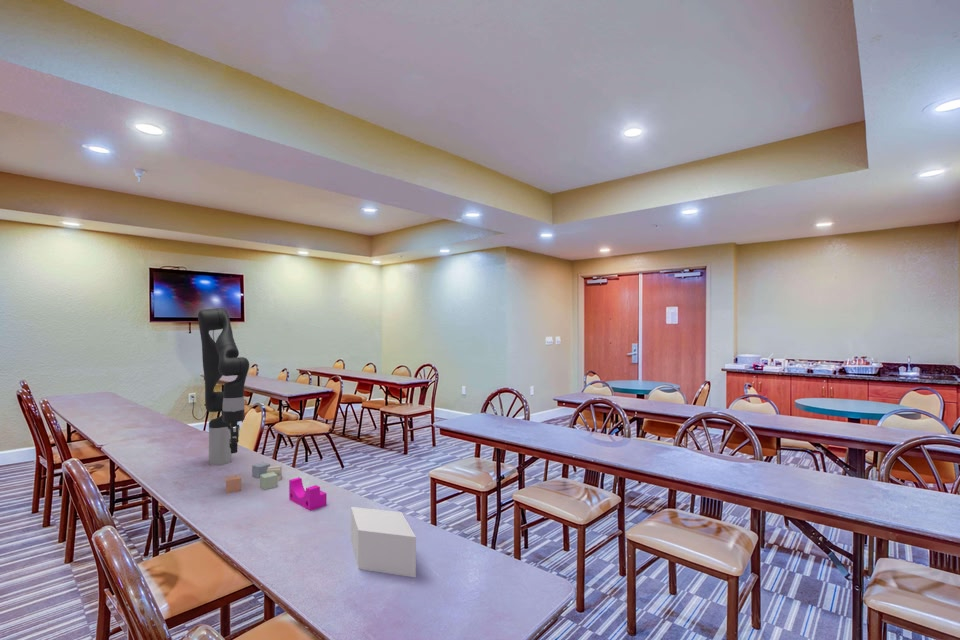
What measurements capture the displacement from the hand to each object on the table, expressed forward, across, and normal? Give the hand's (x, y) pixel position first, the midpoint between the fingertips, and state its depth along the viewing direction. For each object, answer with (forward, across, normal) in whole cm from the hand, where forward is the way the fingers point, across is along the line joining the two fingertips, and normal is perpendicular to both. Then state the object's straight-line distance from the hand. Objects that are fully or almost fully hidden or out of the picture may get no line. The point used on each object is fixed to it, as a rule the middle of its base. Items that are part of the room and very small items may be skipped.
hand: (233, 450), depth 170 cm
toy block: (+16, +28, +22) cm, 39 cm away
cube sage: (+16, +4, +12) cm, 20 cm away
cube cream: (+15, -4, +15) cm, 22 cm away
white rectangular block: (+16, +79, +31) cm, 86 cm away
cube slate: (+15, -12, +11) cm, 23 cm away
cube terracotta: (+16, 0, 0) cm, 16 cm away
